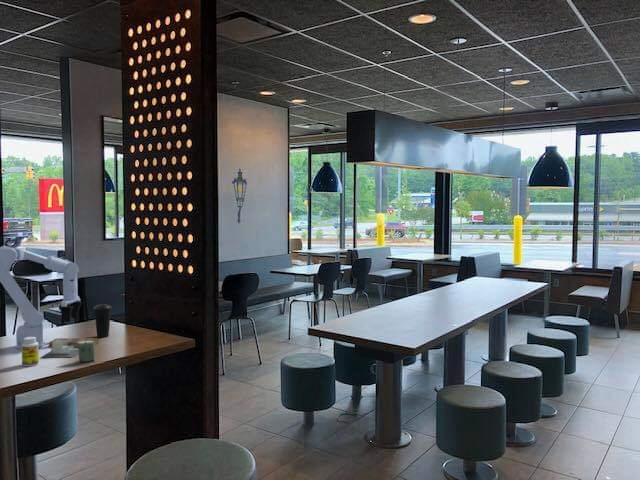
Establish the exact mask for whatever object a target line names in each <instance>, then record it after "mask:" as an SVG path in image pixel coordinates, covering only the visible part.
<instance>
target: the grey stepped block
mask: <svg viewBox="0 0 640 480" xmlns="http://www.w3.org/2000/svg"><path fill="white" fill-rule="evenodd" d="M50 349H51V350H50V351H51V355H70V354H71V353H73V352H74V350H75V347H74V346H68V345H67V340H56V341H54V342H52V347H50Z"/></svg>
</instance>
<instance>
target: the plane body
mask: <svg viewBox="0 0 640 480" xmlns="http://www.w3.org/2000/svg"><path fill="white" fill-rule="evenodd" d="M56 340H67V345H68V346H74V348H78V342H83V341H94V345H95V346H97V345H98V344H99V338H98V337H97V338H83V337H82V338H80V337H79V338H71V337H70V338H67V337H66V338H62V337H60V338H59V337H56V338H54V339H52V340H51V341H49V342H48V348H52V342H54V341H56ZM97 343H98V344H97Z"/></svg>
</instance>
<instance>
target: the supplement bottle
mask: <svg viewBox="0 0 640 480" xmlns="http://www.w3.org/2000/svg"><path fill="white" fill-rule="evenodd" d="M39 350H40V348H38V342H36V337H26V338H24V343H23V344H22V348H21V365H22V366H23V367H34V366H37V365H38V364H39V361H40V360H39V359H40V358H39V357H40V356H39V354H40V353H39Z"/></svg>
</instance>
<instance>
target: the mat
mask: <svg viewBox="0 0 640 480" xmlns="http://www.w3.org/2000/svg"><path fill="white" fill-rule="evenodd" d="M77 355H79V349H74V352H73V353H71V354H70V355H51V350H50V351H49V352H47V353H46V354H44V355H42V356H41V359H42V358H44V359H49V358H50V359H51V358H52V359H58V358H59V359H61V358H62V359H64V358H65V359H68V357H73V358H75V357H76V356H77ZM74 356H75V357H74Z"/></svg>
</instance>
